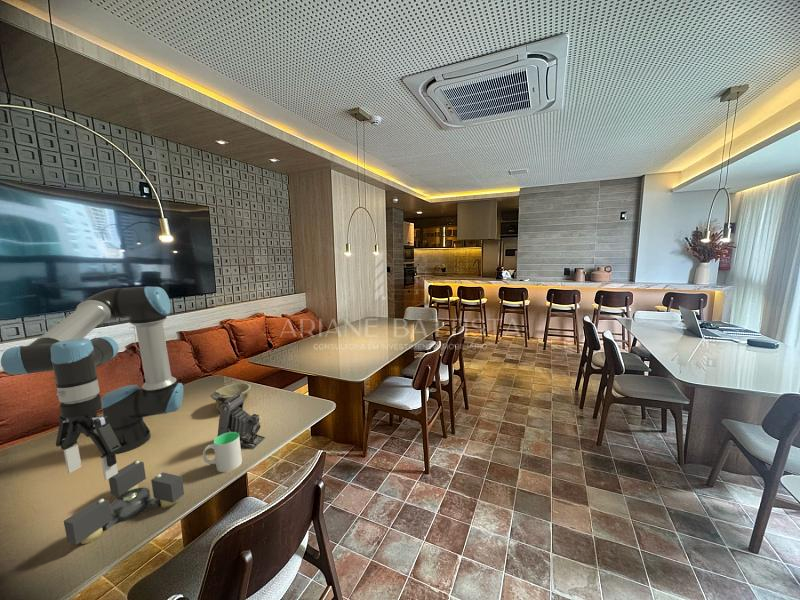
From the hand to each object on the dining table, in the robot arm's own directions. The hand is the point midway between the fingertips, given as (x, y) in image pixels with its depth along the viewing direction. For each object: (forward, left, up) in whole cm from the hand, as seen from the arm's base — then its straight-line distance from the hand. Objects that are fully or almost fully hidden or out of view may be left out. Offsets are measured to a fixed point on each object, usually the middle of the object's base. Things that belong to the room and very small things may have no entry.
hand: (92, 473), depth 85 cm
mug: (+10, +31, -18) cm, 37 cm away
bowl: (-24, +70, -18) cm, 76 cm away
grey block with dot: (-9, +13, -18) cm, 24 cm away
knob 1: (-1, -2, -18) cm, 18 cm away
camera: (+5, +46, -18) cm, 49 cm away
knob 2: (+8, +13, -18) cm, 23 cm away
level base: (-1, +7, -18) cm, 19 cm away
